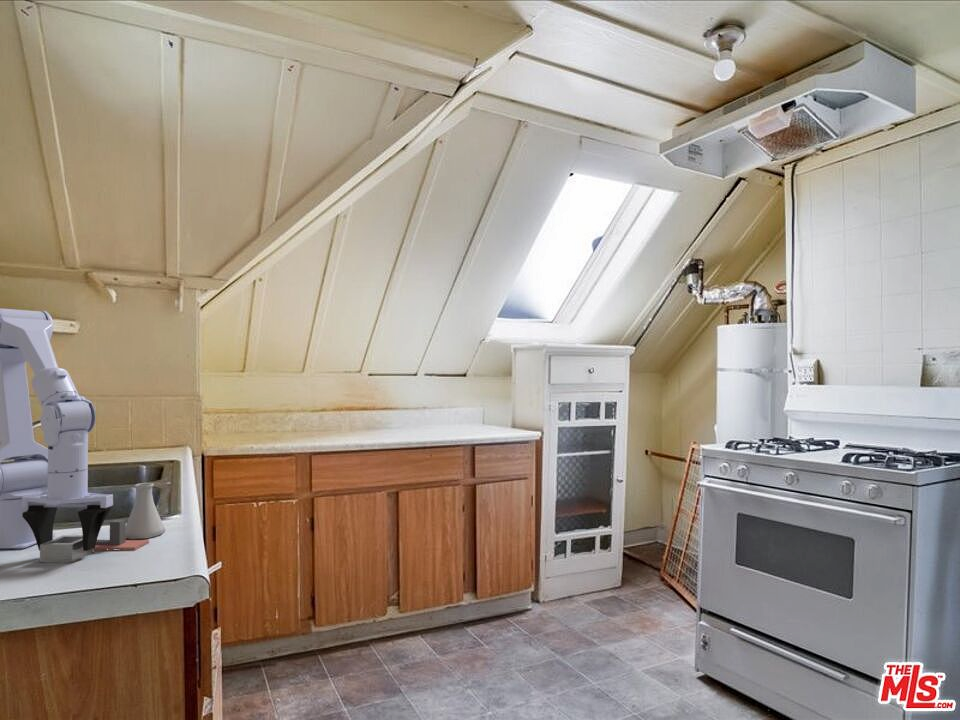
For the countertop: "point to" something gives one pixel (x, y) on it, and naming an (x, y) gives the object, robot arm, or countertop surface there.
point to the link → (63, 549)
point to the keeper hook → (119, 538)
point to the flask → (144, 515)
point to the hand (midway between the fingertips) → (67, 549)
